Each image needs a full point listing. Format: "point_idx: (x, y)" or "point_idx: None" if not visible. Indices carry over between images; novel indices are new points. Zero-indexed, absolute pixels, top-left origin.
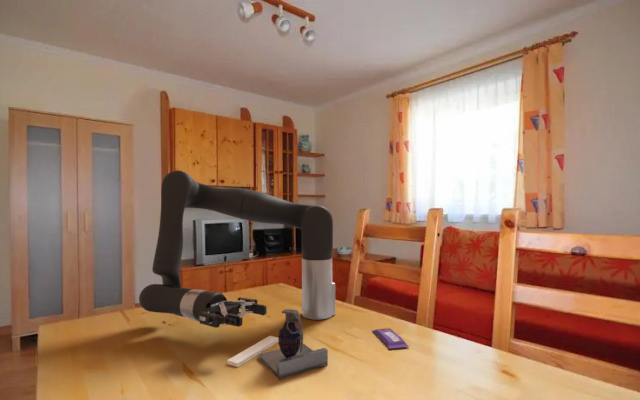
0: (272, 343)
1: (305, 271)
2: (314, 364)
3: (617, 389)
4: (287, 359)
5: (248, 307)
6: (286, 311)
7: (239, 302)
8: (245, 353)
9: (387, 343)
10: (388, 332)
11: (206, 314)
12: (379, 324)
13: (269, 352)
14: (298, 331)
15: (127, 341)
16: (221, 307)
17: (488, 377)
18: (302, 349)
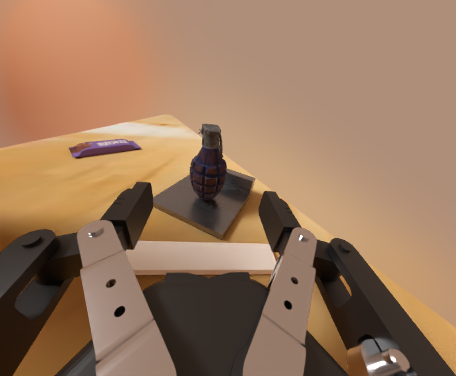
0: (159, 243)
1: None
2: None
3: (167, 114)
4: (242, 175)
5: (35, 317)
6: (218, 128)
7: (135, 276)
8: (234, 256)
9: (130, 147)
10: (99, 143)
11: (405, 312)
12: (36, 155)
13: (206, 223)
14: (219, 148)
15: None
16: (300, 292)
17: (172, 128)
18: (175, 193)
